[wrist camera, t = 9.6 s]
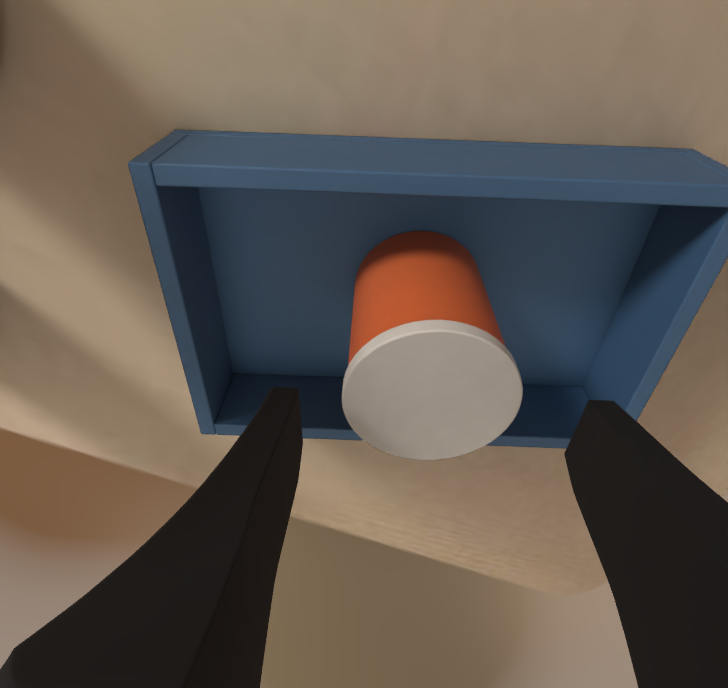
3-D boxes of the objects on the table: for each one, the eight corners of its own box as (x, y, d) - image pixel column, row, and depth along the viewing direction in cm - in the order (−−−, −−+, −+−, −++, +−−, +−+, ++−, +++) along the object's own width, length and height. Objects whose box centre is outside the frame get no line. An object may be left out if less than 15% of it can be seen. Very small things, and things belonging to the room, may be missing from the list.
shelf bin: (694, 148, 14) (769, 186, 12) (588, 389, 21) (620, 451, 18) (174, 129, 14) (126, 162, 12) (224, 375, 21) (200, 434, 18)
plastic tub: (494, 230, 16) (544, 334, 11) (470, 342, 19) (502, 464, 14) (352, 224, 16) (341, 326, 11) (351, 338, 19) (341, 457, 14)
